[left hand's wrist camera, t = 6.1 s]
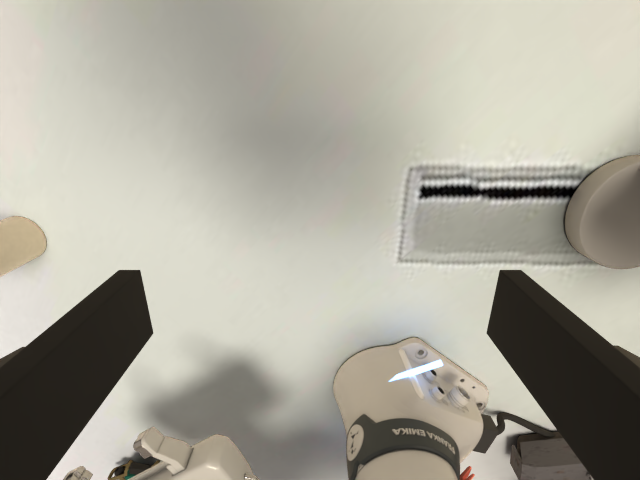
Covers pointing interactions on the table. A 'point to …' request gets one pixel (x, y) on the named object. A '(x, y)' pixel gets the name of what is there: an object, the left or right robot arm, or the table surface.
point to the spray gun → (129, 470)
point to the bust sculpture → (608, 215)
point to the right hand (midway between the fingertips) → (104, 455)
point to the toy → (546, 459)
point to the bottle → (19, 243)
